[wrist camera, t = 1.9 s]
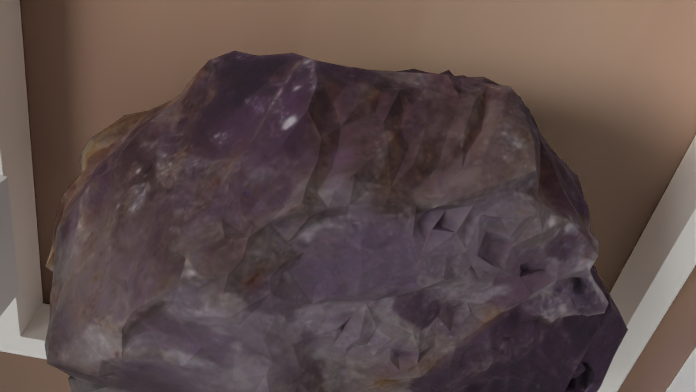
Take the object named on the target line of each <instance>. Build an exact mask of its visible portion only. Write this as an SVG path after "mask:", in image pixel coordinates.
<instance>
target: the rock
mask: <svg viewBox="0 0 696 392" xmlns="http://www.w3.org/2000/svg"><path fill="white" fill-rule="evenodd" d="M79 162H80V165H81V167H82V174H81V175H80V176H79V177H78V178H77V179H76V180H75V181H74V182H73V183H72V184H71V185H70V186H69V187H68V190H67V191H66V192H65V193H64V194H63V196H62V199H61V201H60V204H59V206H58V211H57V216H56V221H55V227H54V232H53V238H52V244H51V252H50V255H49V258H48V260H47V263H46V266H45V267H47V268H48V269H49V270H51V271H52V272H53V279H52V290H51V293H50V319H49V325H48V330H47V335H46V340H45V351H46V357H47V363H48V364H50V365H52V366H54V367H56V368H58V369H60V370H61V371H63V372H65V373H67V374H68V375H70V378H69V379H68V380H69V383H70V386H71V390H72V392H597V391H598V390H599V388H600V387H601V385H602V382H603V380H604V378H605V376H606V373H607V371H608V369H609V366H610V364H611V362H612V360H613V357H614V355H615V353H616V352H617V350H618V348H619V346H620V344H621V342H622V340H623V338H624V336H625V335H626V333H627V331H628V329H627V327H626V324H625V322H624V320H623V318H622V316H621V314H620V312H619V310H618V308H617V306H616V305H615V303H614V301H613V299H612V298H611V296H610V294H609V293H608V291H607V289H606V288H605V286H604V284H603V283H602V281H601V280H600V278H599V276H598V275H597V272H596V269H595V267H594V266H593V264H594V263H595V261H596V259H597V258H598V255H599V241H598V240H597V239H596V238H595V236H594V235H593V234H592V233H591V231H590V228H591V223H590V217H589V211H588V205H587V203H586V202H585V200H584V196H583V192H582V188H581V184H580V182H579V179H578V176H577V175H575V174H574V173H573V172H572V171H571V170H570V168H569V167H568V166H567V164H565V163H564V162H563V161H562V160H561V159H560V158H559V157H558V156H557V155H556V154H555V153H554V152H553V151H552V149H551V148H550V147H549V145H548V144H547V142H546V141H545V139H544V138H543V136H542V135H541V133H540V132H539V129H538V127H537V125H536V123H535V120H534V118H533V117H532V115H531V113H530V111H529V109H528V108H527V107H526V106H525V105H524V103H523V101H522V100H521V98H520V97H519V96H518V95H517V94H516V93H515V92H514V91H513V90H512V88H511V87H509V86H502V85H499V84H497V83H495V82H493V81H491V80H489V79H487V78H485V77H466V76H463V75H462V76H454V75H453V74H452V73H451V72H450V71H449V70H448V71H445V72H443V73H441V74H434V73H427V72H423V71H419V70H415V69H411V70H404V71H397V72H392V71H375V70H365V69H359V68H350V67H345V66H340V65H335V64H330V63H325V62H320V61H315V60H312V59H309V58H306V57H303V56H300V55H297V54H294V53H288V54H276V55H264V56H256V55H252V54H247V53H242V52H237V51H233V52H230V53H228V54H225V55H222V56H219V57H217V58H214V59H211V60H209V61H208V62H207V63H206V65H205V66H204V67H203V68H202V69H201V70H200V71H199V72H198V73H197V74H196V75H195V76H194V77H193V79H192V80H191V81H190V82H189V83H188V84H187V86H186V88H185V89H184V91H183V93H182V94H181V95H179V96H178V97H177V98H176V99H174V100H172V101H170V102H168V103H165V104H163V105H161V106H159V107H156V108H154V109H152V110H150V111H145V112H140V113H135V114H130V115H125V116H123V117H122V118H121V119H119V120H118V121H117V122H115V123H114V124H112V125H111V126H109V127H108V128H106V129H105V130H103V131H101V132H100V133H98V134H97V135H95V136H94V137H92V138H91V139H89V141H88V143H87V144H86V146H85V148H84V150H83V151H82V153H81V156H80V159H79Z"/></svg>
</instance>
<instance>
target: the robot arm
mask: <svg viewBox="0 0 696 392" xmlns="http://www.w3.org/2000/svg"><path fill="white" fill-rule="evenodd" d="M18 293H19V285H18V276H17V266H16V256H15V246H14V236H13V226H12V216H11V206H10V196H9V186H8V176H3V175H0V316H1V315H2V314H3V312H4V311H5V310H6V309H7V307H8V306H9V305H10V304H11V302H12V301H13V300H14V299H15V297H16V296H17V295H18ZM666 392H696V347H695V349H694V350H693V352H692V353H691V355H690V356H689V358H688V359H687V361H686V362H685V364H684V365H683V366H682V368H681V369H680V371H679V372H678V374H677V375H676V377H675V378H674V380H673V381H672V383H671V384H670V386H669V387H668V389H667V390H666Z"/></svg>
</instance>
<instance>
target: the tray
mask: <svg viewBox="0 0 696 392" xmlns="http://www.w3.org/2000/svg"><path fill="white" fill-rule="evenodd" d="M0 175H3V176H8V186H9V196H10V206H11V216H12V226H13V236H14V246H15V256H16V266H17V276H18V285H19V293H18V295H17V296H16V297H15V299H14V300H13V301H12V302H11V304H10V305H9V306H8V307H7V309H6V310H5V311H4V312H3V314H2V315H1V316H0V351H2V352H8V353H13V354H19V355H25V356H30V357H36V358H41V359H47V357H46V351H45V340H46V335H47V330H48V325H49V319H50V304H45V303H43V296H42V283H41V270H40V257H39V244H38V231H37V218H36V205H35V192H34V179H33V166H32V153H31V140H30V127H29V115H28V102H27V89H26V76H25V63H24V50H23V37H22V24H21V11H20V0H0ZM695 265H696V135H695V137H694V139H693V141H692V143H691V145H690V146H689V148H688V150H687V152H686V154H685V156H684V158H683V159H682V161H681V163H680V165H679V167H678V169H677V170H676V172H675V174H674V176H673V178H672V180H671V181H670V183H669V185H668V187H667V189H666V191H665V192H664V194H663V196H662V198H661V200H660V202H659V203H658V205H657V207H656V209H655V211H654V213H653V214H652V216H651V218H650V220H649V222H648V224H647V226H646V227H645V229H644V231H643V233H642V235H641V237H640V238H639V240H638V242H637V244H636V246H635V248H634V249H633V251H632V253H631V255H630V257H629V259H628V260H627V262H626V264H625V266H624V268H623V270H622V271H621V273H620V275H619V277H618V279H617V281H616V282H615V284H614V286H613V288H612V290H611V292H610V296H611V298H612V299H613V301H614V303H615V305H616V306H617V308H618V310H619V312H620V314H621V316H622V318H623V320H624V322H625V324H626V327H627V329H628V331H627V333H626V335H625V336H624V338H623V340H622V342H621V344H620V346H619V348H618V350H617V352H616V353H615V355H614V357H613V360H612V362H611V364H610V366H609V369H608V371H607V373H606V376H605V378H604V380H603V382H602V385H601V387H600V388H599V390H598V391H597V392H617V391H618V389H619V388H620V386H621V385H622V383H623V381H624V380H625V378H626V376H627V375H628V373H629V372H630V370H631V368H632V367H633V365H634V364H635V362H636V360H637V359H638V357H639V355H640V354H641V352H642V351H643V349H644V347H645V346H646V344H647V343H648V341H649V339H650V338H651V336H652V334H653V333H654V331H655V330H656V328H657V326H658V325H659V323H660V322H661V320H662V318H663V317H664V315H665V313H666V312H667V310H668V309H669V307H670V305H671V304H672V302H673V301H674V299H675V297H676V296H677V294H678V292H679V291H680V289H681V288H682V286H683V284H684V283H685V281H686V280H687V278H688V276H689V275H690V273H691V271H692V270H693V268H694V267H695Z"/></svg>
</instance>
